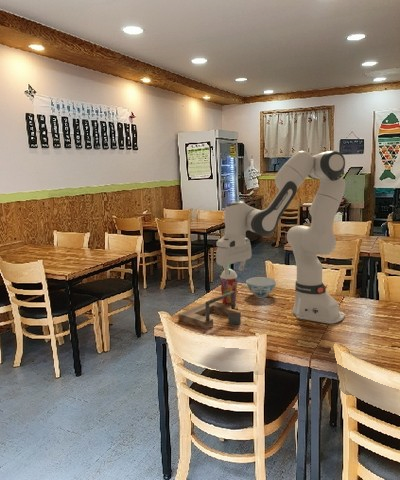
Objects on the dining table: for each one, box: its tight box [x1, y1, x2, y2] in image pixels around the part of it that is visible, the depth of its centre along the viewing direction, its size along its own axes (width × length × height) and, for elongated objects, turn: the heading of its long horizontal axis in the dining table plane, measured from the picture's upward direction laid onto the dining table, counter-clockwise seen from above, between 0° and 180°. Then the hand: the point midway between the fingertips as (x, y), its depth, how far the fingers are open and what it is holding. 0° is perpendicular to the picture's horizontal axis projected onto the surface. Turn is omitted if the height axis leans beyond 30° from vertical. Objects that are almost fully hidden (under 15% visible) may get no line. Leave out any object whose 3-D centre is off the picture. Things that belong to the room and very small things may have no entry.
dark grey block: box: [228, 309, 242, 326], centre depth 174 cm, size 5×5×6 cm
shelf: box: [178, 291, 239, 330], centre depth 180 cm, size 16×22×11 cm
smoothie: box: [219, 266, 238, 306], centre depth 197 cm, size 8×8×20 cm
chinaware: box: [245, 276, 277, 299], centre depth 208 cm, size 15×15×8 cm
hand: (234, 272), depth 172 cm, fingers open, 8 cm apart
